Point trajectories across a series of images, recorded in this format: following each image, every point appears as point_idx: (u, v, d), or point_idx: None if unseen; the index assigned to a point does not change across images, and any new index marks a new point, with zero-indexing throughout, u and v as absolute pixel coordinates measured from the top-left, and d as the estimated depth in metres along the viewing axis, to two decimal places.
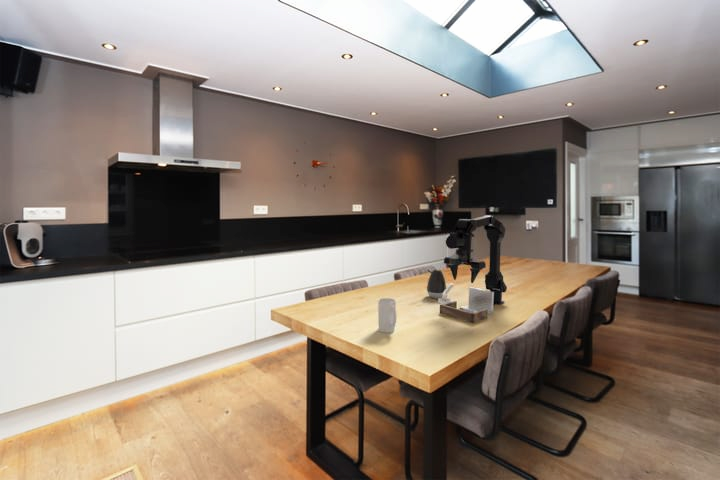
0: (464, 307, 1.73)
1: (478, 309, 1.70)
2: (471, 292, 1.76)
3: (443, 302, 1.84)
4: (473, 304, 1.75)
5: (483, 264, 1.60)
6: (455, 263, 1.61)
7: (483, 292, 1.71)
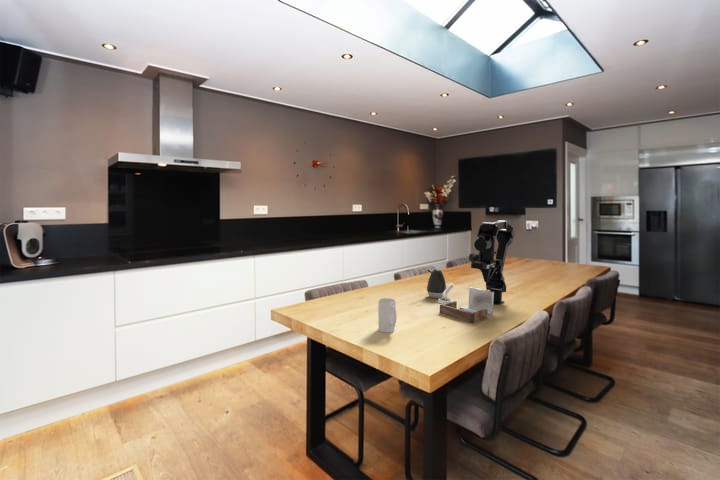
0: (464, 307, 1.73)
1: (478, 309, 1.70)
2: (471, 292, 1.76)
3: (443, 302, 1.84)
4: (473, 304, 1.75)
5: (477, 265, 1.67)
6: None
7: (483, 292, 1.71)
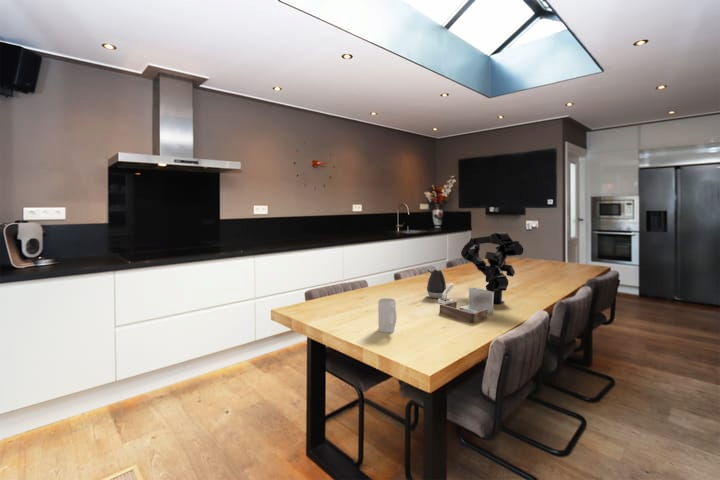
0: (464, 307, 1.73)
1: (478, 309, 1.70)
2: (471, 292, 1.76)
3: (443, 302, 1.84)
4: (473, 304, 1.75)
5: (513, 271, 1.71)
6: (490, 256, 1.73)
7: (483, 292, 1.71)
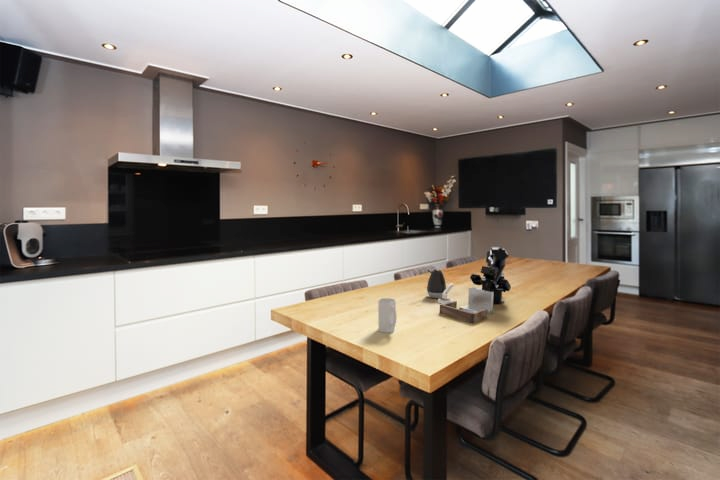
0: (464, 307, 1.73)
1: (478, 309, 1.70)
2: (471, 292, 1.75)
3: (443, 302, 1.84)
4: (473, 304, 1.75)
5: (509, 285, 1.70)
6: (486, 271, 1.72)
7: (483, 292, 1.71)
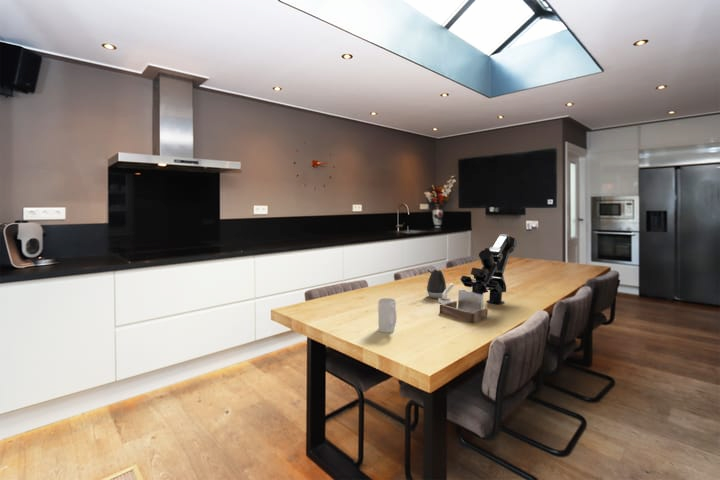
0: None
1: None
2: (461, 294, 1.71)
3: (443, 302, 1.84)
4: (463, 307, 1.70)
5: (500, 287, 1.65)
6: (476, 273, 1.67)
7: (473, 294, 1.66)
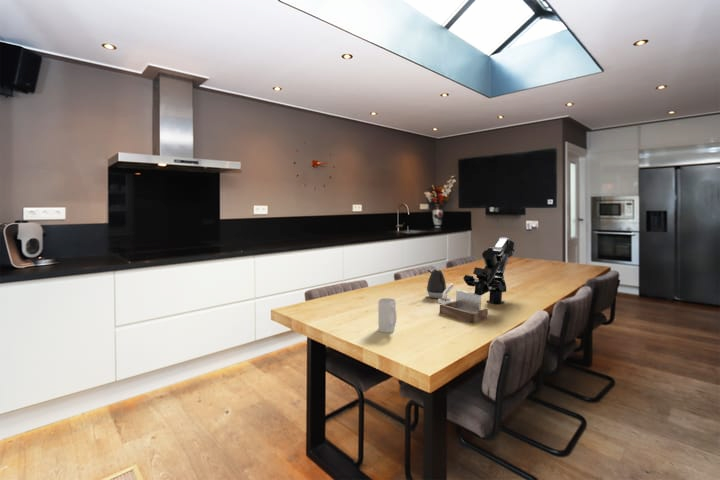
0: None
1: None
2: (459, 295, 1.70)
3: (443, 302, 1.84)
4: (460, 307, 1.69)
5: (502, 287, 1.67)
6: (479, 272, 1.69)
7: (470, 295, 1.65)
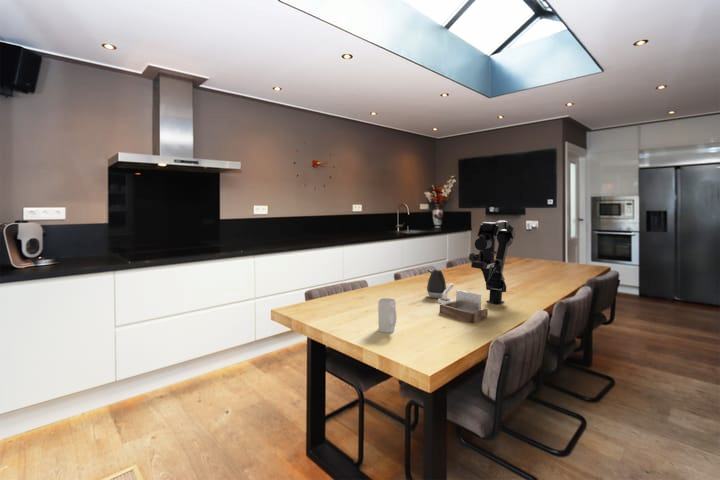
0: None
1: None
2: (459, 295, 1.70)
3: (443, 302, 1.84)
4: (460, 307, 1.69)
5: (478, 264, 1.67)
6: None
7: (470, 295, 1.65)
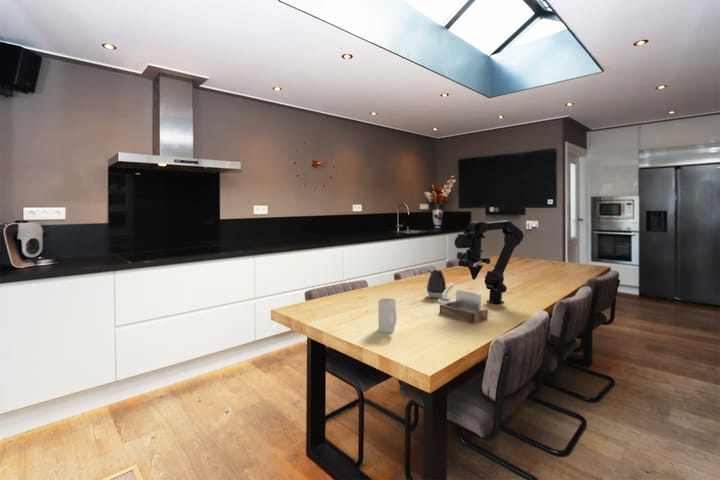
0: None
1: None
2: (459, 295, 1.70)
3: (443, 302, 1.84)
4: (460, 307, 1.69)
5: (464, 263, 1.73)
6: None
7: (470, 295, 1.65)
